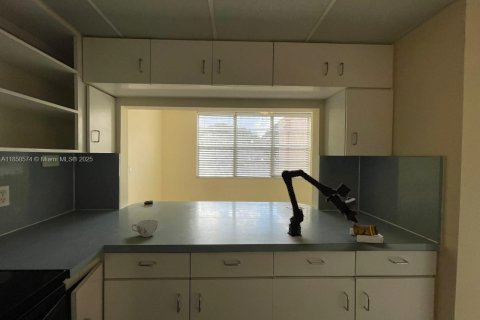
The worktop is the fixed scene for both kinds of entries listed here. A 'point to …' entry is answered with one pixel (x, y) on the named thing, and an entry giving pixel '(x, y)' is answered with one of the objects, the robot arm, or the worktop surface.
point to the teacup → (146, 227)
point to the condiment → (364, 230)
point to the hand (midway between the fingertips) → (357, 222)
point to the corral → (368, 238)
